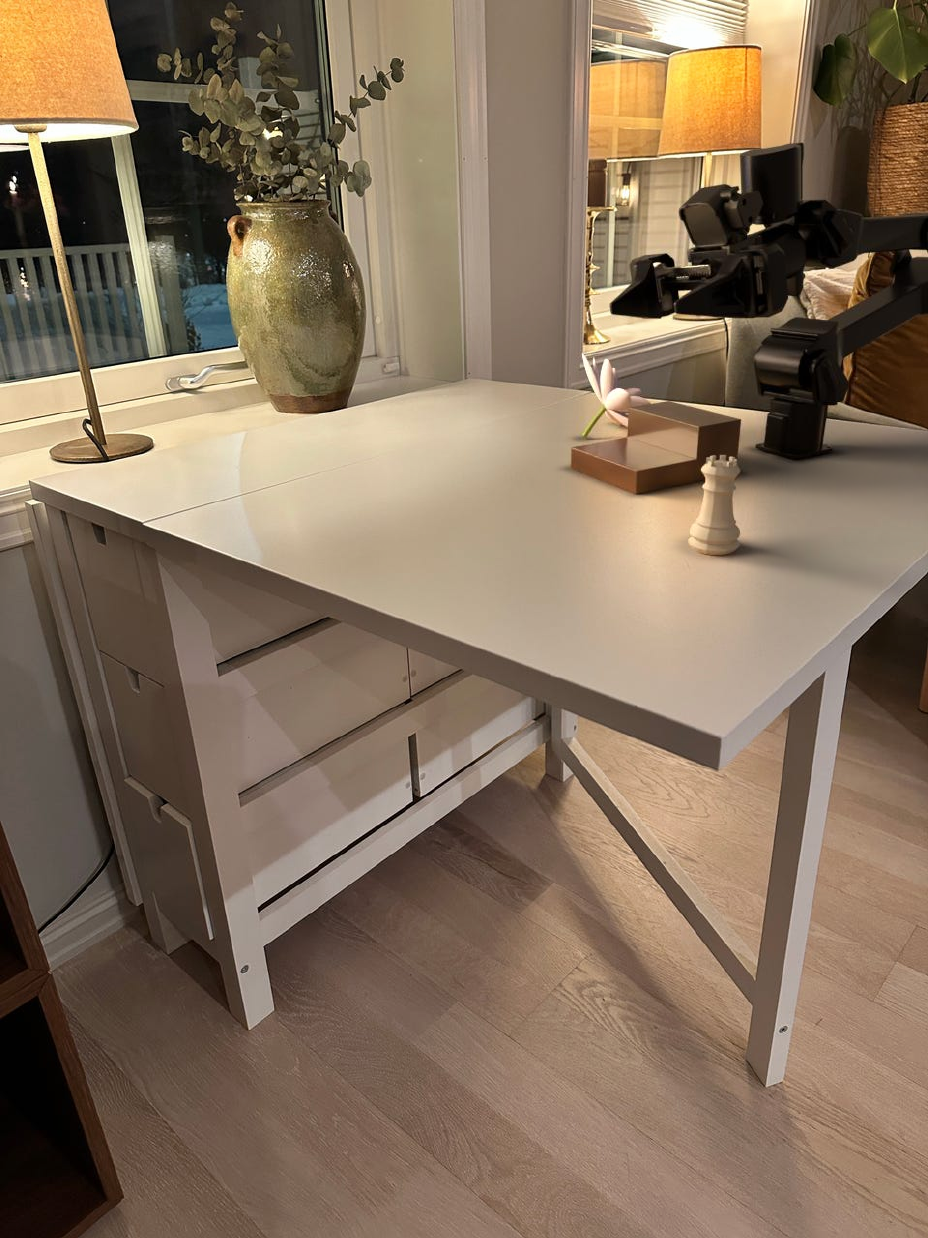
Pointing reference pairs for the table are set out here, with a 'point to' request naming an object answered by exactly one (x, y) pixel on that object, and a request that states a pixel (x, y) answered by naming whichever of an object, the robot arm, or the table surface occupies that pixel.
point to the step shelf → (660, 447)
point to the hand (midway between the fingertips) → (641, 308)
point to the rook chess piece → (717, 509)
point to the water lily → (611, 394)
